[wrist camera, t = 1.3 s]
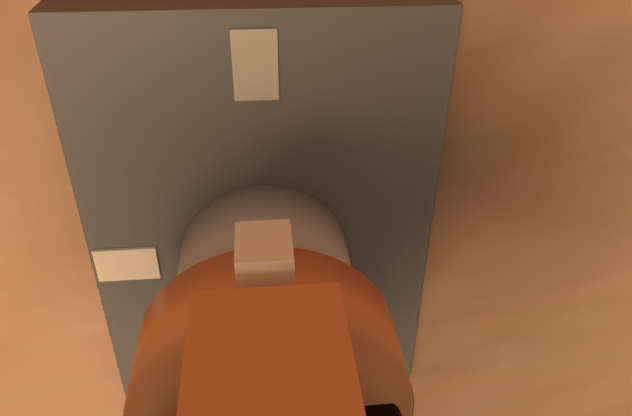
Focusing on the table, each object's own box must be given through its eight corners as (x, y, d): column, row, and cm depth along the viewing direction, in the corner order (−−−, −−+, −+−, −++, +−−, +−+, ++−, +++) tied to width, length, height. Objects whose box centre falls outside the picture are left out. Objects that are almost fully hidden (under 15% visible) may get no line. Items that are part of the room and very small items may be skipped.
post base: (399, 377, 21) (429, 484, 17) (137, 396, 20) (115, 513, 17) (449, -8, 14) (516, 51, 10) (41, -1, 13) (-30, 65, 9)
